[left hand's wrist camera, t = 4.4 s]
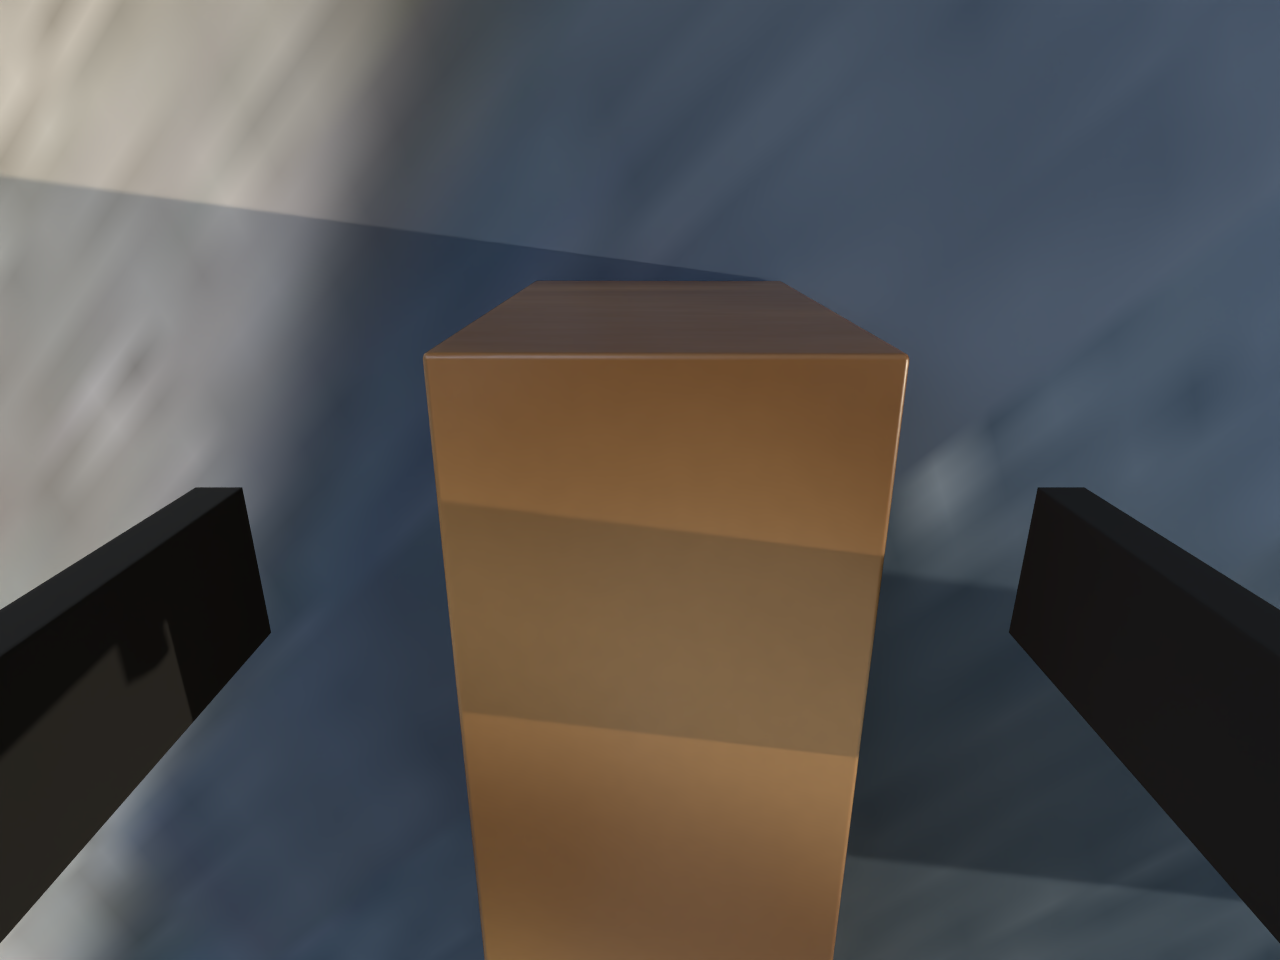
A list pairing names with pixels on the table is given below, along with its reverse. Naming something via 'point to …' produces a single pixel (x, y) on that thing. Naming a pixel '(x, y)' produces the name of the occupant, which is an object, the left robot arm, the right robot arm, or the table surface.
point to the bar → (662, 609)
